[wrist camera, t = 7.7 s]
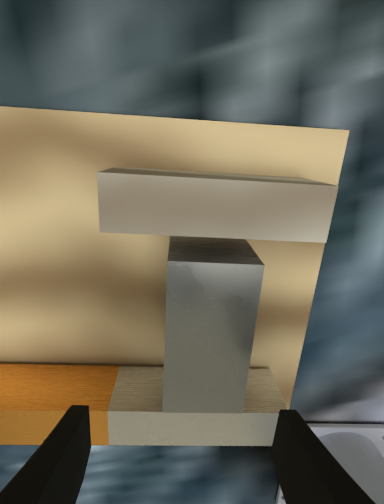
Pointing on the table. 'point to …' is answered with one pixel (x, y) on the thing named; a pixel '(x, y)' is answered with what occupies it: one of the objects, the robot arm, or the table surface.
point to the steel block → (209, 323)
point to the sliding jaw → (127, 407)
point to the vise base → (132, 268)
